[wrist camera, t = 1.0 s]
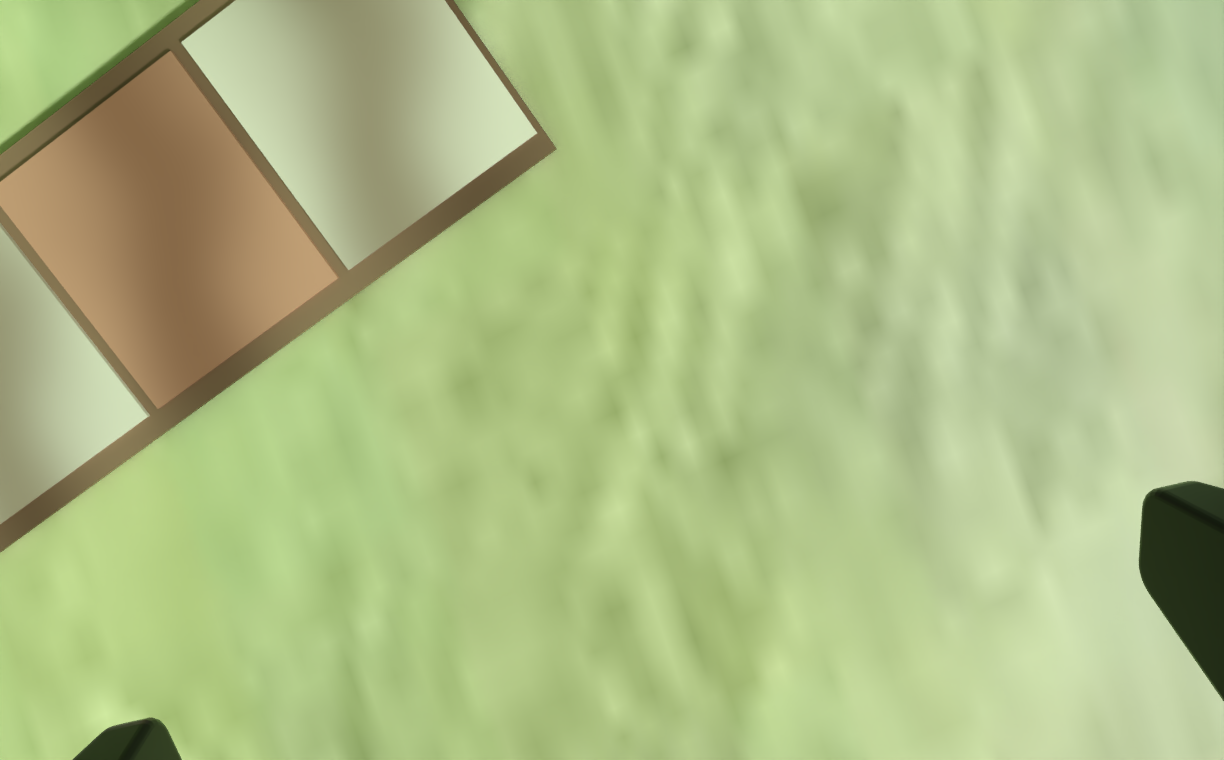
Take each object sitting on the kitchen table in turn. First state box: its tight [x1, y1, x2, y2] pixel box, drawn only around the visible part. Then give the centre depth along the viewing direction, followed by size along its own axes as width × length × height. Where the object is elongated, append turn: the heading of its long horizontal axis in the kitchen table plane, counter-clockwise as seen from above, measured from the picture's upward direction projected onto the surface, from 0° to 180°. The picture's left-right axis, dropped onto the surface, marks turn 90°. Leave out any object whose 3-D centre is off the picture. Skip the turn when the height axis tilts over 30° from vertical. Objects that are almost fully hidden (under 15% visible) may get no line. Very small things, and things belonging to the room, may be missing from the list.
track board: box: [0, 0, 556, 552], centre depth 22 cm, size 16×7×1 cm, turn 125°
